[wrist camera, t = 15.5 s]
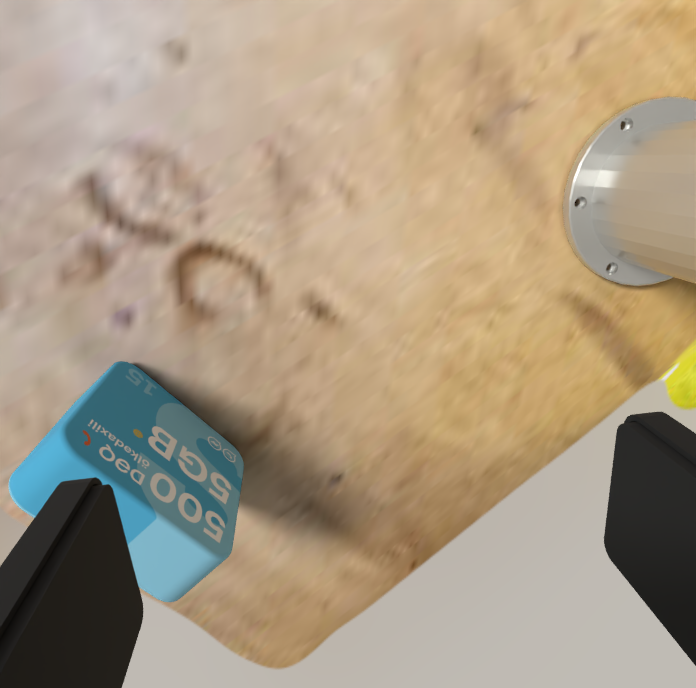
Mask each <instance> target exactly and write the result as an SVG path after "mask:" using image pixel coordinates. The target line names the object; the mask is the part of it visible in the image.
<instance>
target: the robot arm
mask: <svg viewBox="0 0 696 688" xmlns="http://www.w3.org/2000/svg"><path fill="white" fill-rule="evenodd" d="M621 124H622V127H620V125H621ZM575 200H577V204H576V205H575V204H574V203H575ZM563 218H564V227H565V230H566V234H567V238H568V241H569V243H570V245H571V247H572V249H573V251H574V253H575V254H576V256H577V257H578V258H579V259H580V261H581V262H582V263H583V264H584V265H585V266H586V267H587V268H588V269H590V270H591V271H592V272H594V273H595V274H597V275H599V276H601V277H603V278H605V279H608V280H610V281H613V282H616V283H619V284H623V285H633V286H642V285H652V284H656V283H660V282H663V281H666V280H669V279H671V278H673V277H675V278H678V279H682V280H685V281H688V282H691V283H695V284H696V100H693V99H689V98H685V97H664V98H657V99H651V100H647V101H644V102H640V103H637V104H634V105H632V106H630V107H628V108H626V109H624V110H622V111H620V112H618V113H617V114H615V115H614V116H613V117H611V118H610V119H609V120H607V121H606V122H605V123H603V124H602V125H601V126H600V127H599V128H598V130H597V131H596V132H595V133H594V134H593V135H592V136H591V137H590V138H589V139H588V141H587V142H586V144H585V145H584V147H583V148H582V150H581V151H580V152H579V154H578V156H577V158H576V160H575V162H574V164H573V166H572V169H571V171H570V173H569V177H568V180H567V184H566V187H565V192H564V201H563ZM604 544H605V548H606V552H607V554H608V556H609V558H610V559H611V561H612V562H613V563H614V564H615V566H616V567H617V568H618V569H619V571H620V572H621V573H622V574H623V576H624V577H625V578H626V579H627V580H628V582H629V583H630V584H631V586H632V587H633V588H634V589H635V591H636V592H637V593H638V594H639V596H640V597H641V598H642V599H643V601H644V602H645V603H646V604H647V606H648V607H649V608H650V609H651V611H652V612H653V613H654V614H655V616H656V617H657V618H658V619H659V620H660V622H661V623H662V624H663V626H664V627H665V628H666V629H667V631H668V632H669V633H670V634H671V635H672V637H673V638H674V639H675V640H676V642H677V643H678V644H679V646H680V647H681V648H682V649H683V651H684V652H685V653H686V654H687V655H688V657H689V658H690V659H691V660H692V662H693V663H694V664H695V665H696V434H695V433H694V432H692V431H691V430H690V429H688V428H687V427H685V426H684V425H682V424H681V423H679V422H678V421H676V420H675V419H673V418H672V417H670V416H669V415H667V414H665V413H663V412H652V413H643V414H635V415H630V416H628V417H627V419H626V420H625V422H624V424H621V425H620V426H619V427H618V429H617V435H616V443H615V451H614V460H613V468H612V476H611V485H610V493H609V502H608V511H607V518H606V527H605V536H604ZM142 619H143V603H142V598H141V594H140V590H139V586H138V583H137V579H136V575H135V571H134V567H133V563H132V560H131V556H130V552H129V548H128V544H127V540H126V537H125V533H124V529H123V525H122V521H121V518H120V514H119V510H118V506H117V502H116V498H115V495H114V491H113V488H112V487H111V485H109V484H106V485H102V482H101V481H100V479H98V478H96V477H94V478H86V479H77V480H69V481H63V482H61V483H60V484H59V485H58V486H57V487H56V488H55V490H54V491H53V493H52V494H51V496H50V497H49V498H48V500H47V501H46V503H45V504H44V505H43V507H42V508H41V510H40V511H39V513H38V514H37V515H36V517H35V518H34V520H33V521H32V522H31V524H30V525H29V527H28V528H27V530H26V531H25V532H24V534H23V535H22V537H21V538H20V540H19V541H18V542H17V544H16V545H15V547H14V548H13V549H12V551H11V552H10V554H9V555H8V557H7V558H6V559H5V561H4V562H3V564H2V565H1V567H0V688H122V684H123V682H124V678H125V675H126V672H127V669H128V666H129V662H130V659H131V656H132V653H133V650H134V646H135V644H136V640H137V637H138V634H139V631H140V628H141V624H142Z"/></svg>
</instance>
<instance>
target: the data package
mask: <svg viewBox="0 0 696 688" xmlns="http://www.w3.org/2000/svg"><path fill="white" fill-rule="evenodd" d="M243 471H244V462H243V459H242V457H241V455H240V454H239V452H238V451H237V450H236V448H235V447H234V446H233V445H232V444H230V443H229V442H228V441H227V440H226V439H224V438H223V437H222V436H221V435H220V434H218V433H217V432H216V431H215V430H213V429H212V428H211V427H210V426H209V425H207V424H206V423H205V422H204V421H203V420H201V419H200V418H199V417H198V416H196V415H195V414H194V413H193V412H192V411H190V410H189V409H188V408H187V407H185V406H184V405H183V404H182V403H181V402H179V401H178V400H177V399H176V398H175V397H173V396H172V395H171V394H170V393H168V392H167V391H166V390H165V389H164V388H162V387H161V386H160V385H159V384H158V383H156V382H155V381H154V380H153V379H151V378H150V377H149V376H148V375H147V374H145V373H144V372H143V371H142V370H140V369H139V368H138V367H136V366H135V365H133V364H130V363H128V362H122V361H121V362H116V363H114V364H113V365H112V366H111V367H110V368H109V369H108V370H107V371H106V372H105V373H104V374H103V375H102V376H101V377H100V378H99V379H98V380H97V381H96V382H95V383H94V384H93V385H92V386H91V387H90V388H89V389H88V390H87V391H86V392H85V393H84V394H83V395H82V396H81V397H80V398H79V399H78V400H77V401H76V402H75V403H74V404H73V405H72V406H71V407H70V409H69V410H68V411H67V412H66V413H65V414H64V415H63V417H62V418H61V419H60V420H59V421H58V422H57V423H56V425H55V426H54V427H53V428H52V429H51V430H50V431H49V433H48V434H47V435H46V436H45V437H44V438H43V439H42V441H41V442H40V443H39V444H38V445H37V446H36V447H35V449H34V450H33V451H32V452H31V453H30V454H29V455H28V457H27V458H26V459H25V460H24V461H23V462H22V463H21V465H20V466H19V467H18V468H17V469H16V470H15V471H14V473H13V474H12V475H11V477H10V480H9V492H10V495H11V497H12V499H13V501H14V502H15V503H16V504H17V506H18V507H19V508H21V509H22V510H23V511H25V512H26V513H28V514H29V515H31V516H32V517H34V518H35V517H36V515H37V514H38V513H39V511H40V510H41V508H42V507H43V505H44V504H45V503H46V501H47V500H48V498H49V497H50V496H51V494H52V493H53V491H54V490H55V488H56V487H57V486H58V485H59V484H60V483H61V482H63V481H69V480H77V479H86V478H94V477H96V478H98V479H100V481H101V482H102V485H106V484H109V485H111V487H112V488H113V491H114V495H115V498H116V502H117V506H118V510H119V514H120V518H121V521H122V525H123V529H124V533H125V537H126V540H127V544H128V548H129V552H130V556H131V560H132V563H133V567H134V571H135V575H136V579H137V583H138V586H139V587H140V588H141V589H143V590H144V591H146V592H147V593H149V594H150V595H152V596H154V597H155V598H157V599H159V600H161V601H164V602H174V601H177V600H178V599H180V598H181V597H182V596H184V595H185V594H186V593H187V592H188V591H189V590H190V589H192V588H193V587H194V586H195V585H196V584H197V583H199V582H200V581H201V580H202V579H203V578H204V577H206V576H207V575H208V574H209V573H210V572H211V571H212V570H214V569H215V568H216V567H217V566H218V565H219V564H221V563H222V562H223V561H224V560H225V559H226V558H227V557H229V555H230V554H231V551H232V547H233V540H234V533H235V526H236V519H237V512H238V505H239V498H240V492H241V485H242V478H243Z"/></svg>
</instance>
